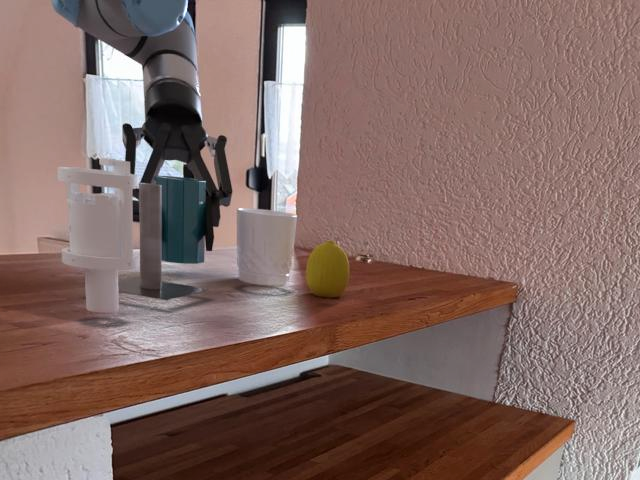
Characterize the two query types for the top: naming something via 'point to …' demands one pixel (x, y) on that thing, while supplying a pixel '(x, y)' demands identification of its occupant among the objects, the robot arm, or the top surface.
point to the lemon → (327, 270)
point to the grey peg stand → (152, 251)
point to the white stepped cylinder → (101, 230)
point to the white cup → (265, 246)
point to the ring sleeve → (182, 219)
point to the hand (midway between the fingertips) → (182, 241)
